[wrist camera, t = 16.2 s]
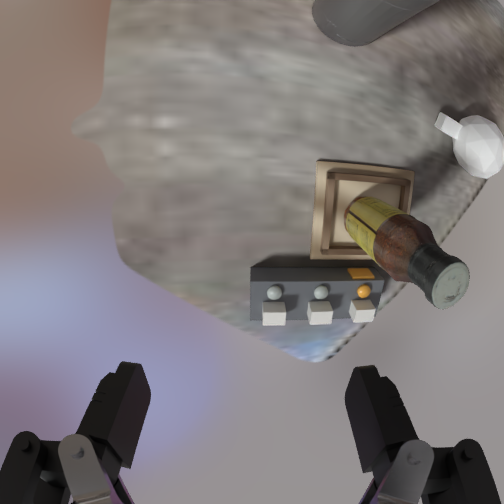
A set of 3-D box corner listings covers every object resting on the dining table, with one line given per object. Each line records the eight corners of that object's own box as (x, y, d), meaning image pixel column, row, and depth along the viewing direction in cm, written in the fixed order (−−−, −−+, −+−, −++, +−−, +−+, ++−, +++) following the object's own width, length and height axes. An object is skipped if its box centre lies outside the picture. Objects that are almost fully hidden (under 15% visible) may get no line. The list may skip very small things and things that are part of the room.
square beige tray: (316, 160, 33) (319, 162, 32) (412, 170, 33) (419, 173, 32) (309, 257, 39) (312, 263, 37) (399, 257, 39) (404, 263, 37)
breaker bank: (250, 265, 39) (250, 289, 33) (374, 265, 39) (392, 287, 33) (250, 303, 42) (250, 331, 36) (366, 301, 41) (380, 326, 36)
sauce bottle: (369, 245, 37) (446, 335, 19) (333, 227, 36) (399, 317, 18) (392, 204, 35) (489, 270, 17) (356, 182, 34) (450, 239, 16)
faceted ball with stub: (495, 127, 28) (438, 88, 28) (526, 148, 21) (467, 99, 21) (474, 171, 33) (418, 138, 34) (501, 199, 27) (441, 161, 27)
